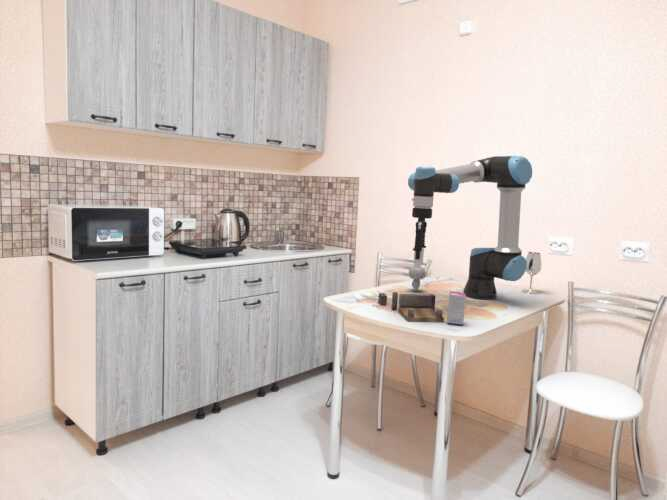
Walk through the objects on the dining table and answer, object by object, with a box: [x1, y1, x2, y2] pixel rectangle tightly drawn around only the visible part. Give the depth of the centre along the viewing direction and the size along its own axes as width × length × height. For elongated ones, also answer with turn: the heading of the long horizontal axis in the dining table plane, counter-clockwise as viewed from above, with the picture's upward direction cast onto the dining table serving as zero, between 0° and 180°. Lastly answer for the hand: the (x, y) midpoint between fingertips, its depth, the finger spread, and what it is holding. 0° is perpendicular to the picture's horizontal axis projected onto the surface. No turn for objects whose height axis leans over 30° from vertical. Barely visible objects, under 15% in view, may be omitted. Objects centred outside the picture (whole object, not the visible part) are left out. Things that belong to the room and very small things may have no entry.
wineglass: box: [521, 251, 542, 295], centre depth 251 cm, size 8×8×20 cm
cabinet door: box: [390, 291, 445, 323], centre depth 197 cm, size 16×18×7 cm
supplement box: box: [446, 291, 467, 327], centre depth 188 cm, size 6×6×12 cm
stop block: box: [377, 292, 388, 306], centre depth 212 cm, size 2×5×4 cm, turn 7°
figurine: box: [408, 266, 426, 293], centre depth 240 cm, size 8×8×12 cm
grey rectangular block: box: [397, 293, 437, 311], centre depth 205 cm, size 14×3×6 cm, turn 97°
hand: (418, 265), depth 197 cm, fingers open, 8 cm apart
